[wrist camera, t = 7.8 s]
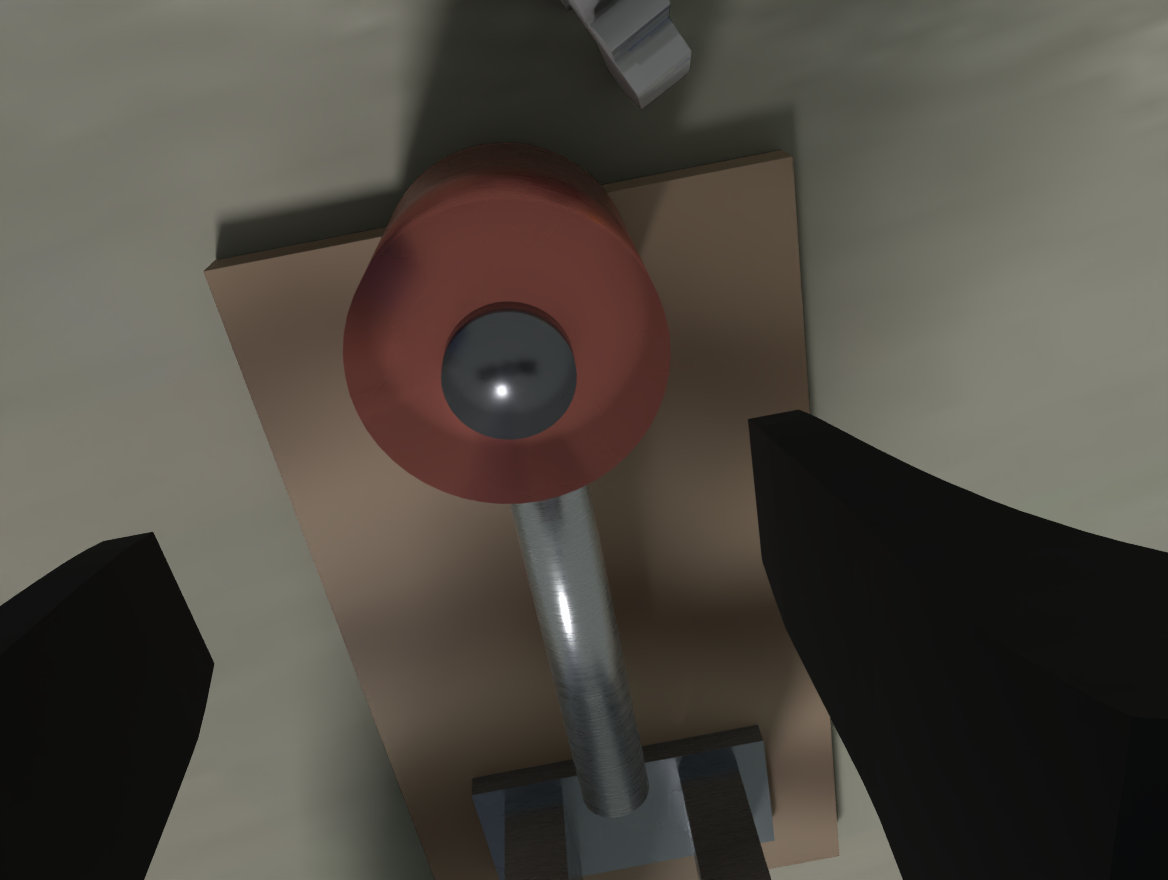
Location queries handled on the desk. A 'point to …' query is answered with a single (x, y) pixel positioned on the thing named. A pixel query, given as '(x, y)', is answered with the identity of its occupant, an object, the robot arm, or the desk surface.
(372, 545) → the board
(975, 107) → the desk surface
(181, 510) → the desk surface
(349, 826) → the desk surface
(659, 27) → the caliper
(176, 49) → the desk surface
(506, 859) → the slotted metal block
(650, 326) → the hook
